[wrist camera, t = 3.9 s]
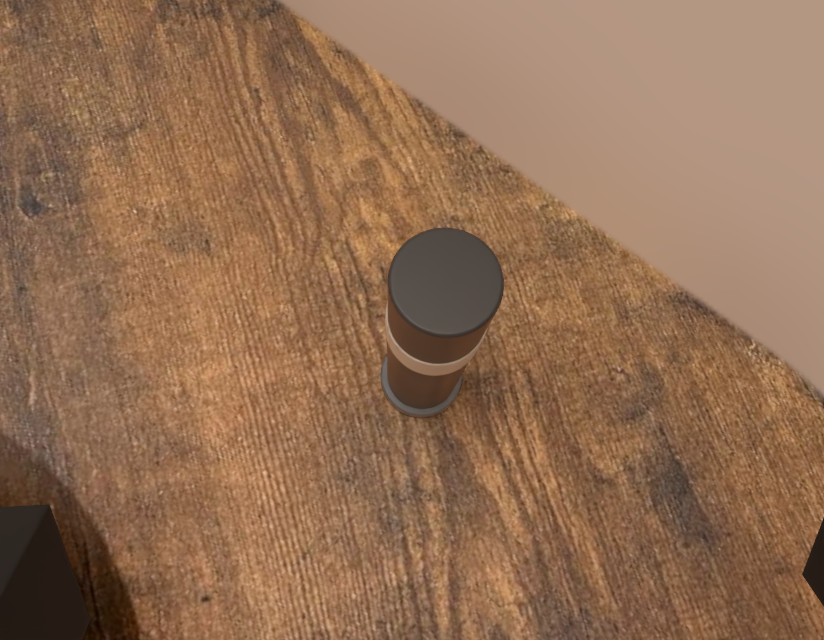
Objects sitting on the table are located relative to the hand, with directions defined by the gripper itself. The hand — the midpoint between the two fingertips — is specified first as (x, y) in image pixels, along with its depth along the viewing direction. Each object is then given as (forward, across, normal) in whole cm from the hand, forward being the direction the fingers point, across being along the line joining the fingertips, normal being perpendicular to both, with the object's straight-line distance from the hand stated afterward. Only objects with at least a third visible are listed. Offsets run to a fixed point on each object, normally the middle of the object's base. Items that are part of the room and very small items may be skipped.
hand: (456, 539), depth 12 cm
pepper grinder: (+10, 0, -4) cm, 11 cm away
